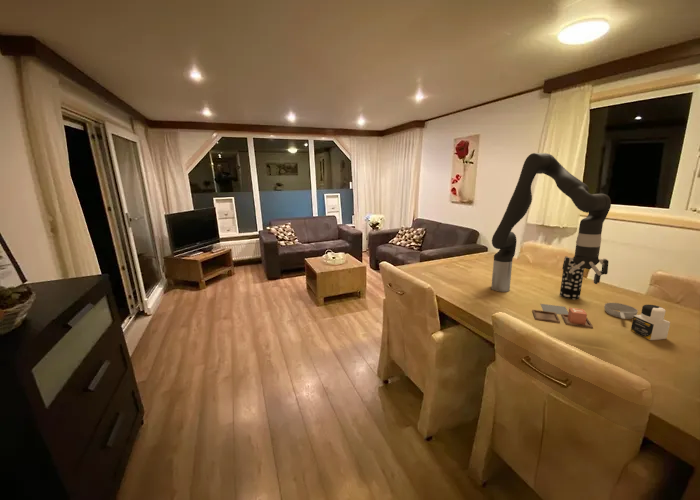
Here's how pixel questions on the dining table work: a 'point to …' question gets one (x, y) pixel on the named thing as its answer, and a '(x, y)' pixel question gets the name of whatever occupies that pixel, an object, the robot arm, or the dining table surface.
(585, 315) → the letter block
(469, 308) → the dining table surface
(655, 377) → the dining table surface
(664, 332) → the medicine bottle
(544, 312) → the tray
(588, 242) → the robot arm
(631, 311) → the saucepan
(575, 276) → the white-spotted black cylinder
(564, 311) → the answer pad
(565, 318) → the tray
